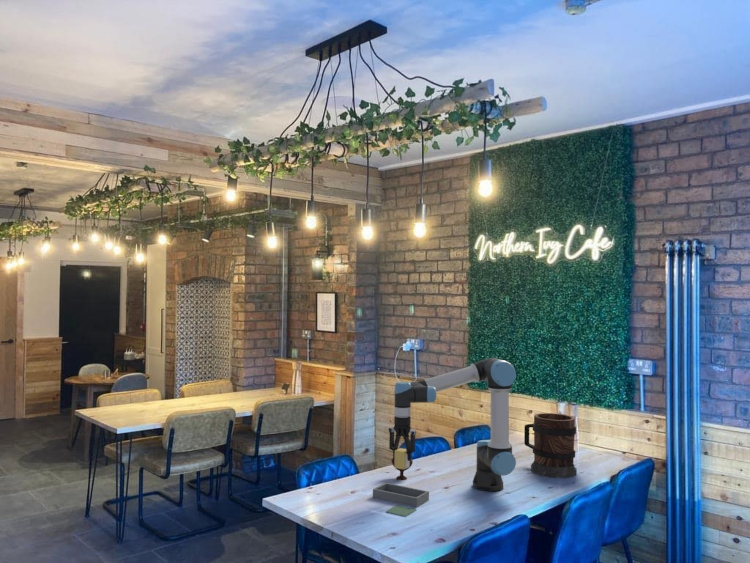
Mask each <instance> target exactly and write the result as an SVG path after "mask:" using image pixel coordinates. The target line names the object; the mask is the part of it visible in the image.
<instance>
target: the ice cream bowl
mask: <svg viewBox="0 0 750 563" xmlns="http://www.w3.org/2000/svg"><path fill="white" fill-rule="evenodd" d="M391 463H392V466H393V468H395V458H393V457H392V459H391ZM413 463H414V462H413V459H412V458H411V460H410V467H408V468H406V469H398V468H395V470H397V471H399V475H398V476H397V477H396V480H398V481H407V479H408V478H407V476H405V475H404V473H405V471H407V470H409V469H410V468H411V467H412V465H413Z"/></svg>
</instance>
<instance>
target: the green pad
mask: <svg viewBox="0 0 750 563" xmlns="http://www.w3.org/2000/svg"><path fill="white" fill-rule="evenodd" d="M417 510H418V508H414V507H413V508H412V507H409V506H405V505H400V504H396V505H394V506H392V507H391V508H389V509H386V511H385V513H386V514H390V515H392V516H393V515H394V516H396V517H397V516H399V517H403V518H406V517H408V516H410V515H412V514H413V513H415V512H417Z"/></svg>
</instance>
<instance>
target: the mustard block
mask: <svg viewBox="0 0 750 563" xmlns="http://www.w3.org/2000/svg"><path fill="white" fill-rule="evenodd" d="M406 453H407V450H406V448H401V447H400V448H399V447H398V449H397V450H395V467H394V469H396V468H398V469H406V468H405V454H406Z"/></svg>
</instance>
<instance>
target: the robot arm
mask: <svg viewBox="0 0 750 563" xmlns="http://www.w3.org/2000/svg"><path fill="white" fill-rule="evenodd" d="M516 378H517V373H516V369H515V367H514V366H513V364H512V363H511V362H509V361H507V360H504V359H499V358H496V357H490V358H485V359H481V360H479V361H475V362H473V363H471V364H470V365H469V366H467V367H462V368H460V369H456V370H453V371H448V372H446V373H443V374H439V375H435V376H433V377H430V378H425V379H422V380H418V381H416V380H415V381H410V382H409V381H408V382H407V381H398V382H396V383H394V384H395V385H394V392H393V393H394V411H393V412H394V413H393V414H394V417H393V418H394V419H393V420H394V422H393V423H394V426H393V427H389V428H388V433H389V438H388V439H389V442H388V443H389V445H388V446H389V447H388V448H389V449H388V450H391V451H392V456H393V457H392V459H393V458H395V450H397V449H399V444H400V440H401V437H402V438H403V441H404V446H405V449H406V450H407V453H406V454H405V468H408V467H410V460H411V459H412V454H414V453H415V452H416V434H417V430H413V429H412V428H411V422H412V421H411V419H412V418H411V412H412V411H411V406H412V404H415V403H419V404H420V403H421V404H422V403H423V404H425V403H427V404H429V403H434V402H436V400H437V392H442V391H445V390H449V389H451V388H455V387H458V386H462V385H466V384H468V383H473V382H475V383H480V382H487V383H486V384H487V386H486V387H487V389H488V390H489V391H490V439H482V440H478V441H477V442H476V468H475V469H476V471H475V474H474V476H473V480H472V487H473V488H474V489H476V490H479V491H484V492H498V491H502V490H503V489H504V480H503V478H502V476H508V475H510V474H511V473H513V471H514V470H515V469H516V466H517V460H516V458H515V456H514V455H513V446H512V443H510V438H509V435H510V432H509V431H510V420H509V418H510V413H509V409H510V396H509V395H510V391H511V390H512V389H513V383H514V381H516V380H515V379H516ZM410 468H411V467H410Z"/></svg>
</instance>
